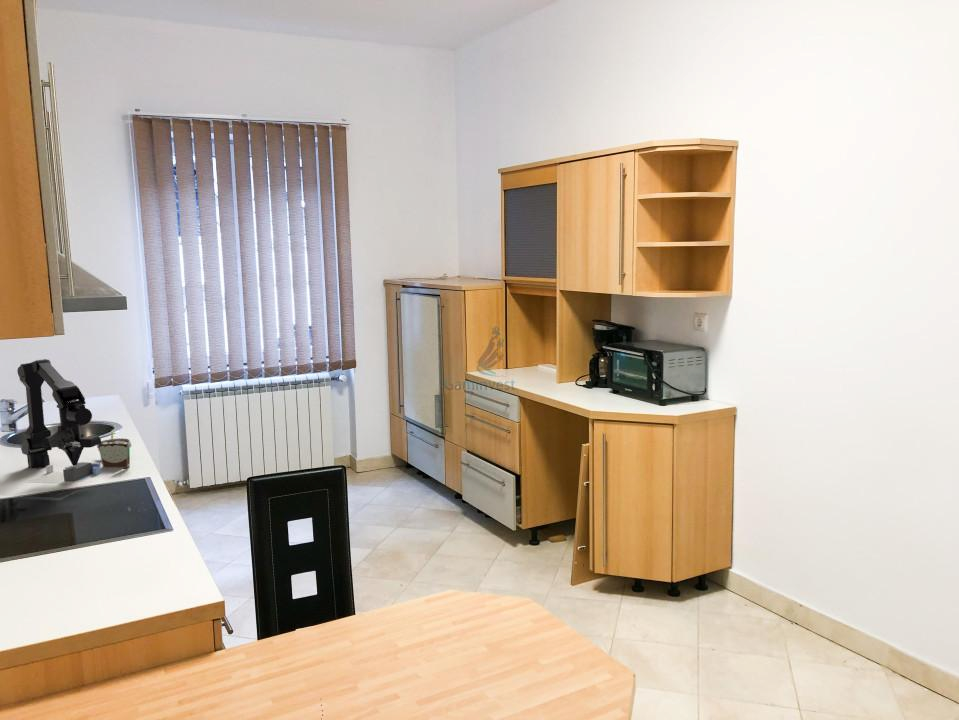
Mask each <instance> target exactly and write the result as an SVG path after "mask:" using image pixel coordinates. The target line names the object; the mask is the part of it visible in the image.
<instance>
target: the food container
mask: <svg viewBox="0 0 959 720" xmlns="http://www.w3.org/2000/svg"><path fill="white" fill-rule="evenodd" d="M96 447H97V449H98V448H99V450H98V452H99V451H100V452H99V455H100V456H99V457H100V460H101V464H102V467H103V468H109V467H110V468H111V467H113V468H122V470H128V469H130V464H131V460H130V458H131V455H130V453H131V451H130V450H131V449H130V448H132V442H131V441H130V439H128V438H124V437H123V438H120V437H119V438H113V439H111V438H109V439H104V440H101V444H98V445H96Z"/></svg>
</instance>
